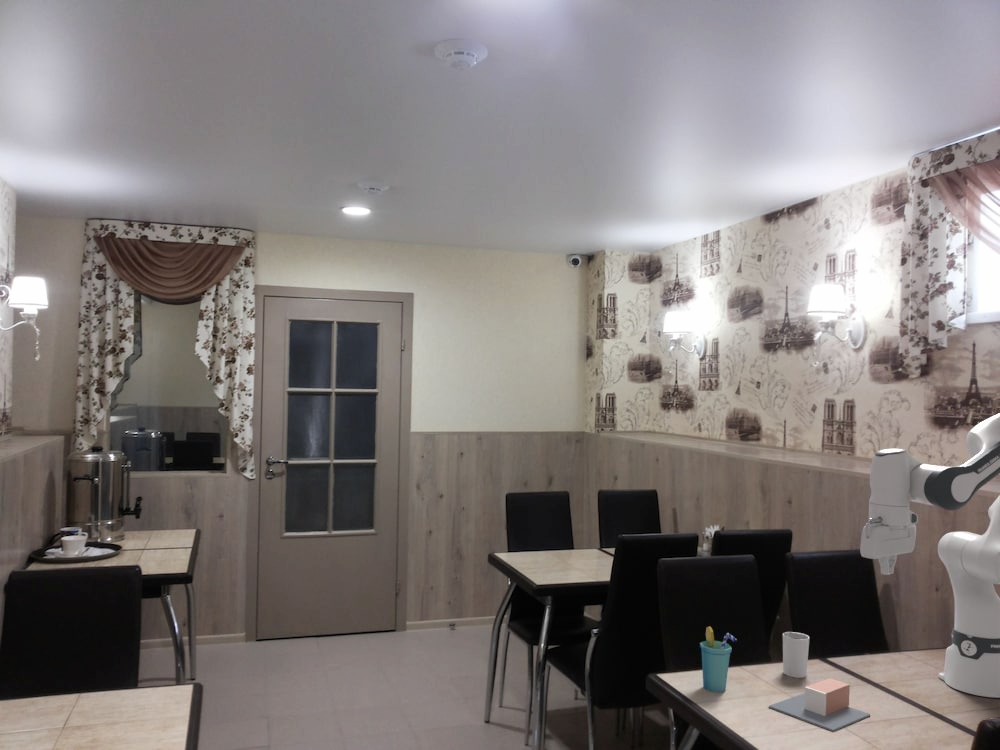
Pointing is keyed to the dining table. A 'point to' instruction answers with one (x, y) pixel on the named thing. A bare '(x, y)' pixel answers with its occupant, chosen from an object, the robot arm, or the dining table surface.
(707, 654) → the cup
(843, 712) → the mat
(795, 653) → the drinking glass
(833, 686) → the block
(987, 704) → the dining table surface
